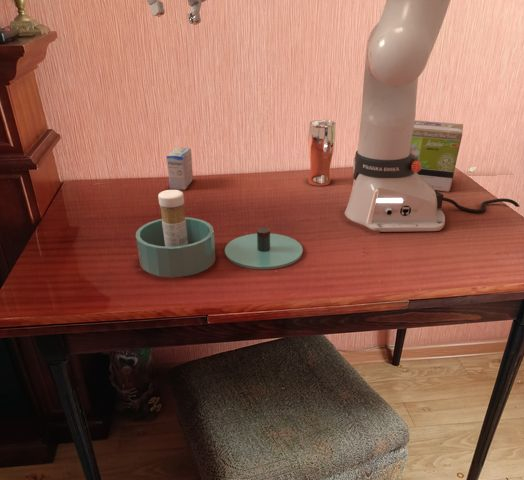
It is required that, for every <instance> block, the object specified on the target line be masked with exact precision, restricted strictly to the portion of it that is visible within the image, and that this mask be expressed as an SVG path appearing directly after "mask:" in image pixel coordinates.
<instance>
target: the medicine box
mask: <svg viewBox="0 0 524 480" xmlns="http://www.w3.org/2000/svg"><path fill="white" fill-rule="evenodd" d="M192 160H193V157H192V149H191V148H190V147H174V148H173V149H172V150H171V151H170V152H169V153H168V154H167V155H166V163H167V164H166V165H167V172H168V184H169V190H179V191H185V190H187V188H188V187H189V186H190V184H191V183H192V182H193V181H194V174H193V173H194V171H193V161H192Z"/></svg>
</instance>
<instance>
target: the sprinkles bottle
mask: <svg viewBox="0 0 524 480" xmlns="http://www.w3.org/2000/svg"><path fill="white" fill-rule="evenodd" d="M157 198H158V204H159V207H160V213H161V219H162V226H163V233H164V241H165V246H166V247H173V246H183V245H188V239H187V229H186V219H185V217H186V214H185V207H184V205H185V195H184V192H183V191H182V190H177V189H166V190H163V191H160V192H158V195H157Z"/></svg>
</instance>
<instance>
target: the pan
mask: <svg viewBox="0 0 524 480" xmlns="http://www.w3.org/2000/svg"><path fill="white" fill-rule="evenodd" d="M185 219H186V229H187V239H188V245H183V246H173V247H166V246H165V241H164V233H163V226H162V218H159V219H156V220H152V221H149V222H147V223H145V224H143V225H142V226H140V227H139V228H138V229H137V231H136V232H135V242H136V248H137V254H138V261H139V265H140V267H141V268H142V270H143V271H145V272H147V273H149V274H150V275H153V276H158V277H163V278H164V277H165V278H181V277H188V276H193V275H197V274H199V273H202V272H205V271H206V270H208V269H209V268H211V267H212V266H213V265H214V264H215V262H216V260H217V259H216V258H217V257H216V243H215V230H214V227H213V226H212V224H211V223H210V222H208V221H205V220H204V219H201V218H196V217H189V216H188V217H187V216H185Z"/></svg>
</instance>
